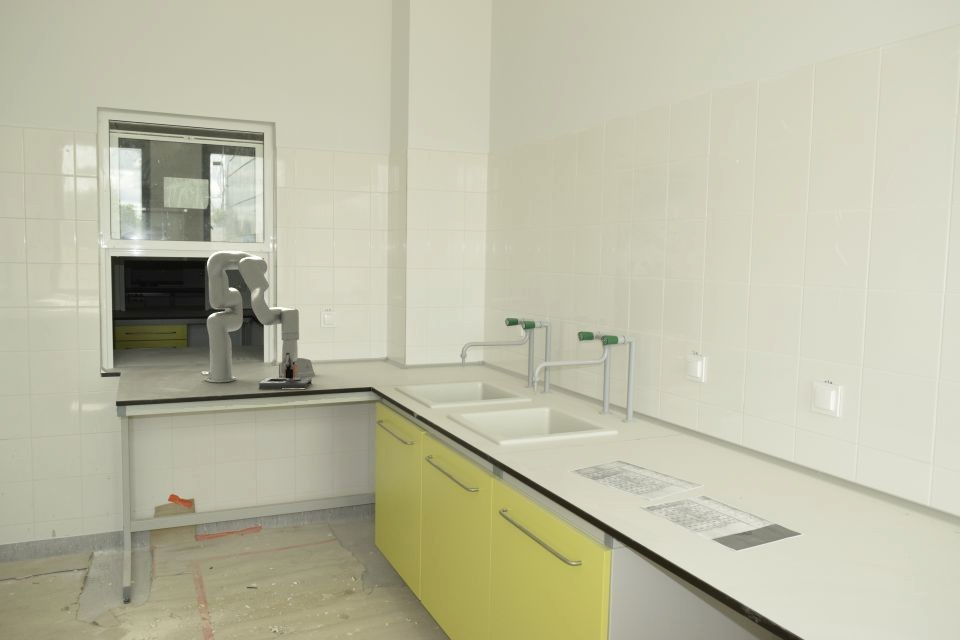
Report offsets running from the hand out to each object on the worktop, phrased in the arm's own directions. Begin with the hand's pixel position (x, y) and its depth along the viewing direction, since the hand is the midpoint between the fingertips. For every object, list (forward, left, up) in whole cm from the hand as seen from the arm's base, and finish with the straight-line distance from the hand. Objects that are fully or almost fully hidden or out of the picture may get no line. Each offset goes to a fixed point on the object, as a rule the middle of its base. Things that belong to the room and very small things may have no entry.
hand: (290, 376), depth 320 cm
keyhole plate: (-2, 0, -4) cm, 5 cm away
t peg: (0, 0, -4) cm, 4 cm away
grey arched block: (-4, +26, -5) cm, 27 cm away
